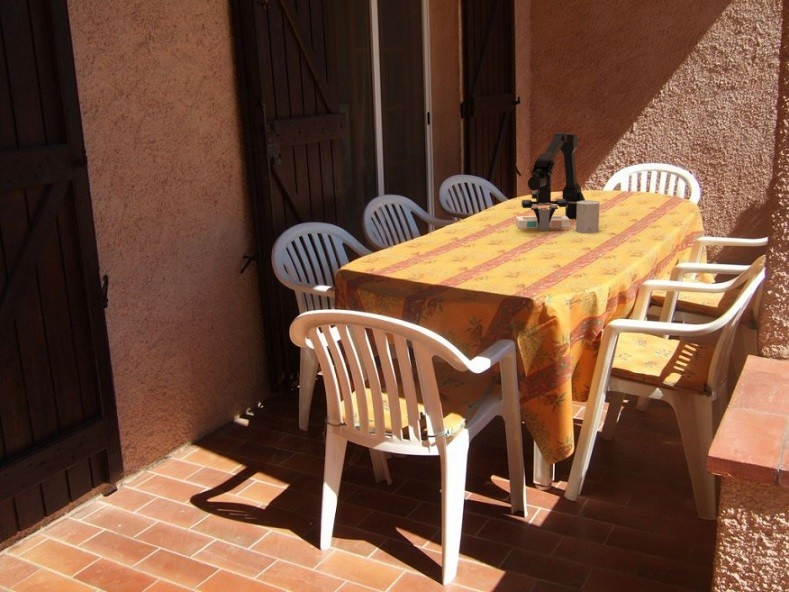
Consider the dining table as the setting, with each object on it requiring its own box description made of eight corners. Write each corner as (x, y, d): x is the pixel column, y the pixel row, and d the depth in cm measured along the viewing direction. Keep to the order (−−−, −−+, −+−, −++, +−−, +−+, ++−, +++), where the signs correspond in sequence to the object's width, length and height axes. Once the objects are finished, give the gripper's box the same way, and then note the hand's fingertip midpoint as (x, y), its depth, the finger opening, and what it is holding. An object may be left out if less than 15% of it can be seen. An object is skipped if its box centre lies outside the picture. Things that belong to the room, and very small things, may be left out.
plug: (547, 229, 381) (547, 207, 378) (548, 230, 377) (549, 208, 374) (538, 229, 381) (538, 207, 378) (539, 231, 377) (539, 209, 374)
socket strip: (565, 222, 393) (565, 215, 392) (569, 227, 383) (569, 219, 382) (515, 224, 393) (516, 216, 393) (518, 228, 383) (519, 220, 382)
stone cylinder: (573, 232, 373) (573, 203, 370) (579, 228, 381) (580, 200, 378) (595, 233, 368) (596, 204, 365) (601, 229, 377) (602, 201, 373)
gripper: (562, 183, 382) (562, 219, 386) (519, 185, 382) (519, 220, 386) (567, 187, 371) (566, 224, 375) (523, 188, 371) (522, 225, 375)
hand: (543, 223), depth 378 cm, fingers closed on plug, 4 cm apart
